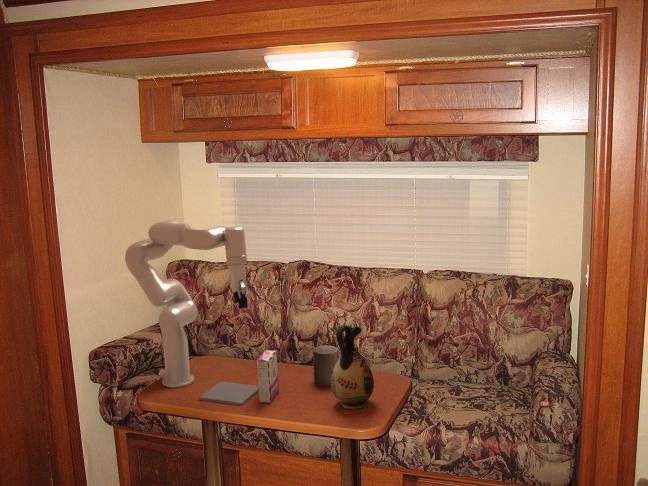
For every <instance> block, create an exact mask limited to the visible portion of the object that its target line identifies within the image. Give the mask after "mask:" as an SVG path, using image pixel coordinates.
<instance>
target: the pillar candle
mask: <svg viewBox="0 0 648 486" xmlns="http://www.w3.org/2000/svg"><path fill="white" fill-rule="evenodd" d="M338 352H339V351H338V347H336V346H334V345H319V346H316V347H314V348H313V352H312V353H313V357H312V359H313V384H314V385H315V386H318V387H320V388H331V376H332V372H333V369H334V366H335V364H336V363H337V361H338V359H339V356H338V354H339V353H338Z"/></svg>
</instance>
